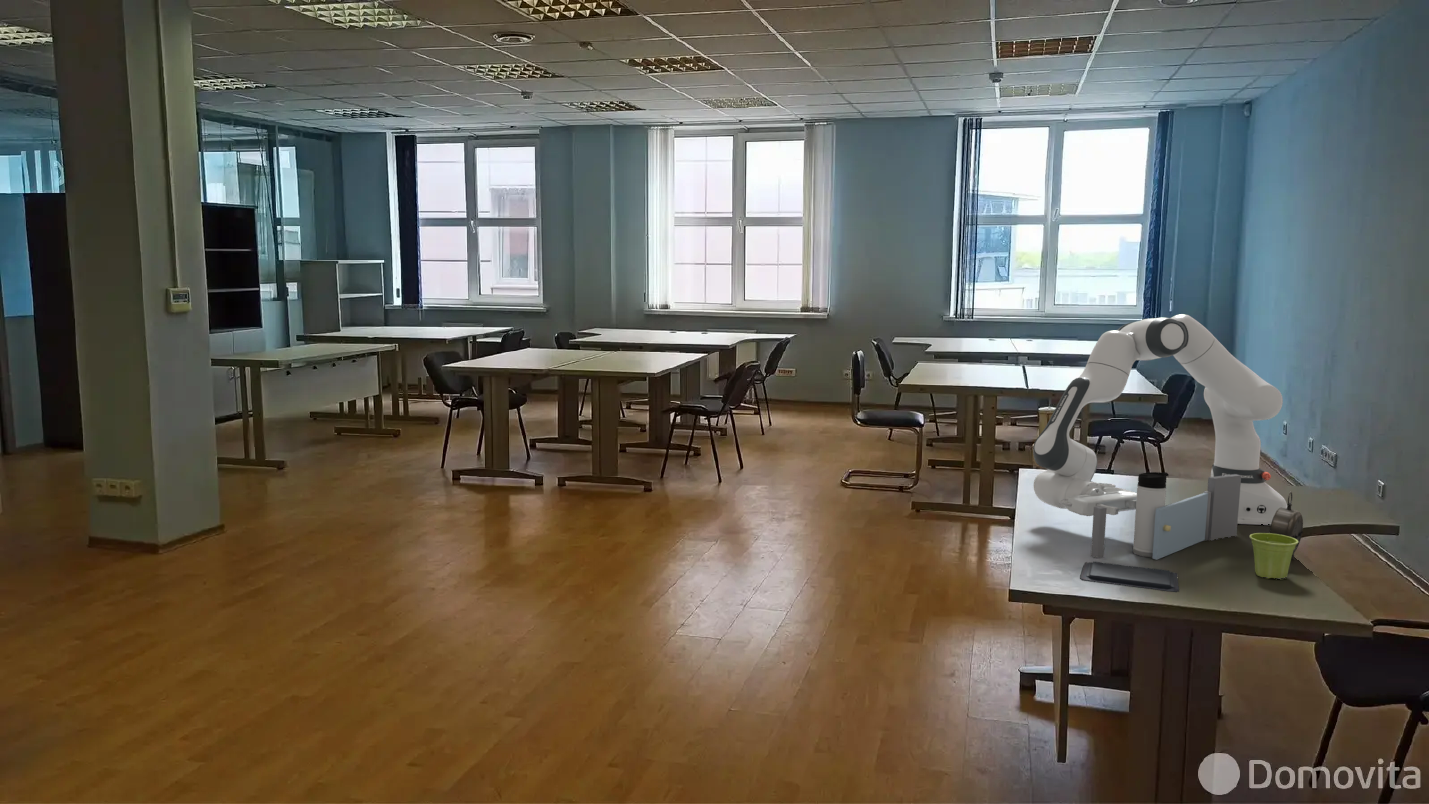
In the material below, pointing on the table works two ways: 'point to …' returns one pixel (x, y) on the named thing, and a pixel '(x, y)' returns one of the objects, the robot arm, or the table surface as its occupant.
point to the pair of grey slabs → (1220, 515)
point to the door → (1181, 524)
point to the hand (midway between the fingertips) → (1130, 509)
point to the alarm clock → (1288, 523)
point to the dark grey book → (1130, 576)
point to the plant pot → (1272, 554)
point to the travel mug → (1148, 510)
